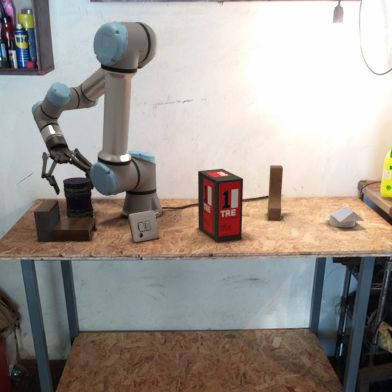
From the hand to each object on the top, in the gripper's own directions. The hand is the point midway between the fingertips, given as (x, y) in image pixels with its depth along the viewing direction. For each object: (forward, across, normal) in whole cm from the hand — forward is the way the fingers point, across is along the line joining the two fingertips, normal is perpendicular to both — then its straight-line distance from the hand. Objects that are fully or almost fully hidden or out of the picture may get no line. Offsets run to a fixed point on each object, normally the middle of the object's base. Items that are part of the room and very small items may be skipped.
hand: (76, 190), depth 208 cm
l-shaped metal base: (+18, +10, +2) cm, 20 cm away
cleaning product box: (+39, -33, +23) cm, 56 cm away
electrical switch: (+31, -8, +15) cm, 36 cm away
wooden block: (+36, -61, +20) cm, 74 cm away
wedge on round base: (+52, -75, +36) cm, 98 cm away
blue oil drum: (+9, 0, -7) cm, 11 cm away
